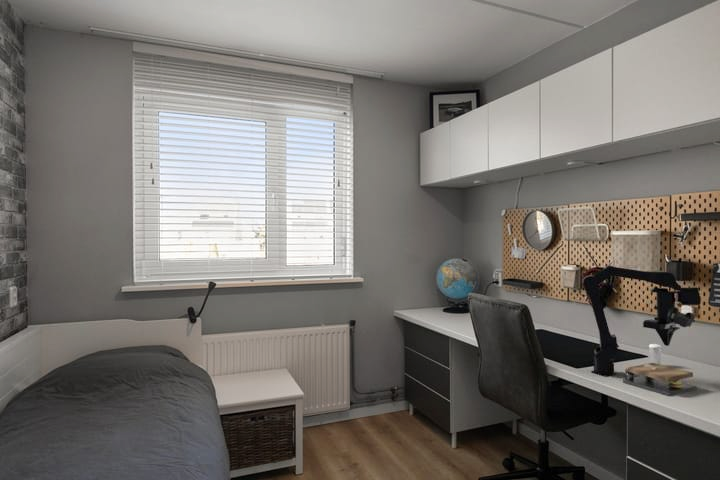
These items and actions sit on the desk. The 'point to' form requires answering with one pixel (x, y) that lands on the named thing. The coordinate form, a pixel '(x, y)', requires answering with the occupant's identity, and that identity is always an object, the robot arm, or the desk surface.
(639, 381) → the base
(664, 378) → the top plate
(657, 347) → the milkshake
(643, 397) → the desk surface
